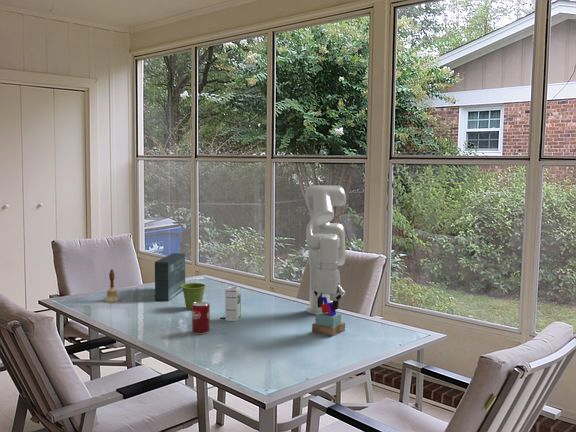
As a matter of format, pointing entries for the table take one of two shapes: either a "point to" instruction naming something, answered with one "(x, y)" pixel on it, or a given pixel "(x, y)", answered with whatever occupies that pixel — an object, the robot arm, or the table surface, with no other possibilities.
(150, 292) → the table surface
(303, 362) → the table surface
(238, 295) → the syrup box
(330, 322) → the tower top block
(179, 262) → the dark green box
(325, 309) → the dreidel
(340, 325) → the tower base block
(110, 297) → the hand bell
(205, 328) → the soda can
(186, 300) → the plant pot
